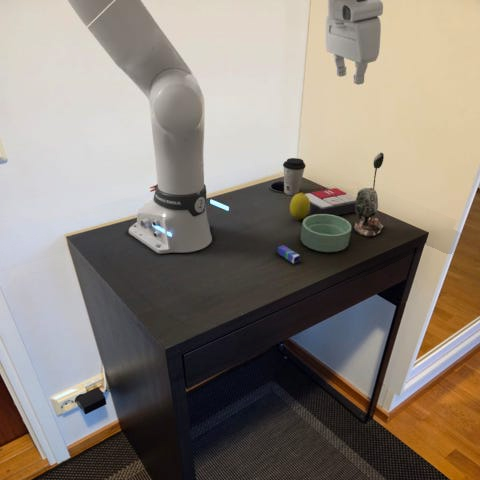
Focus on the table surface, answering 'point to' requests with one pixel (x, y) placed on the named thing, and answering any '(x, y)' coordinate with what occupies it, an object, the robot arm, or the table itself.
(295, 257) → the eraser
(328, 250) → the bowl
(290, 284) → the table surface
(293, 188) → the coffee cup
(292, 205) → the lemon
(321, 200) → the calculator
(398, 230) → the table surface
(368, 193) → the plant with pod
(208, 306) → the table surface
